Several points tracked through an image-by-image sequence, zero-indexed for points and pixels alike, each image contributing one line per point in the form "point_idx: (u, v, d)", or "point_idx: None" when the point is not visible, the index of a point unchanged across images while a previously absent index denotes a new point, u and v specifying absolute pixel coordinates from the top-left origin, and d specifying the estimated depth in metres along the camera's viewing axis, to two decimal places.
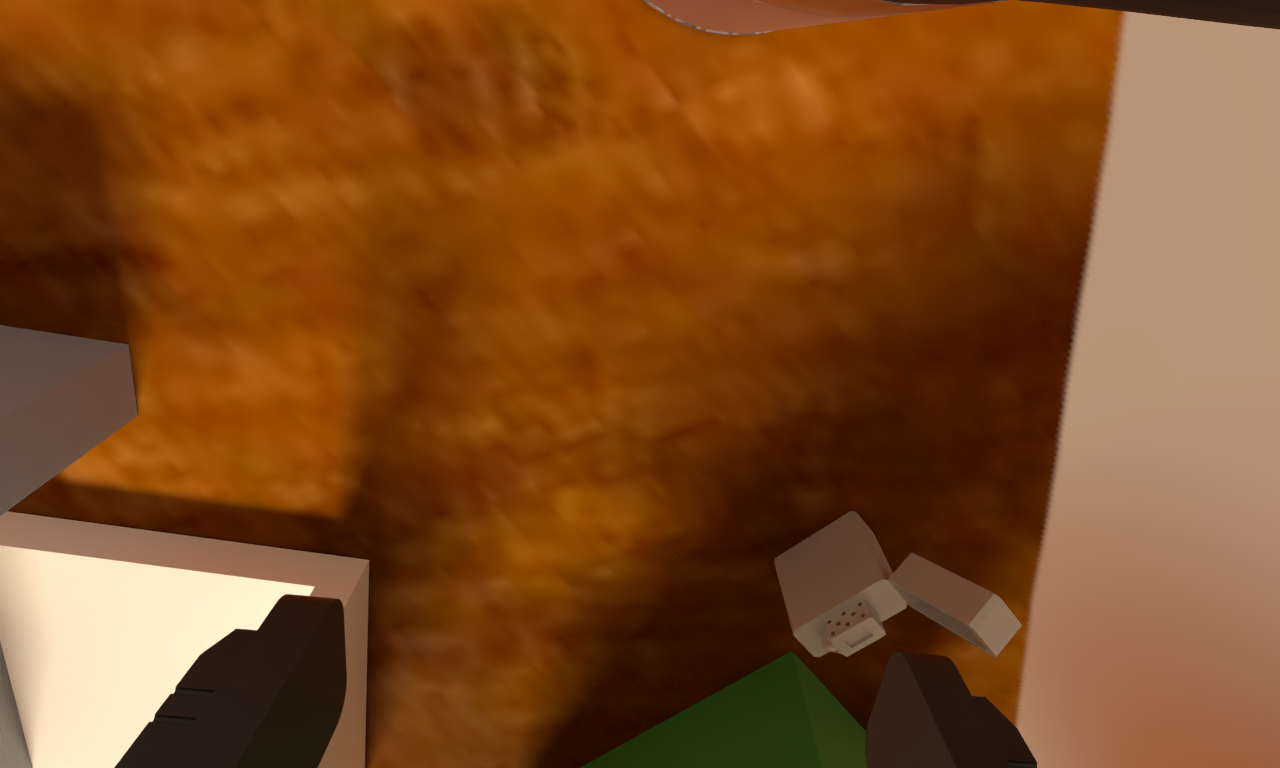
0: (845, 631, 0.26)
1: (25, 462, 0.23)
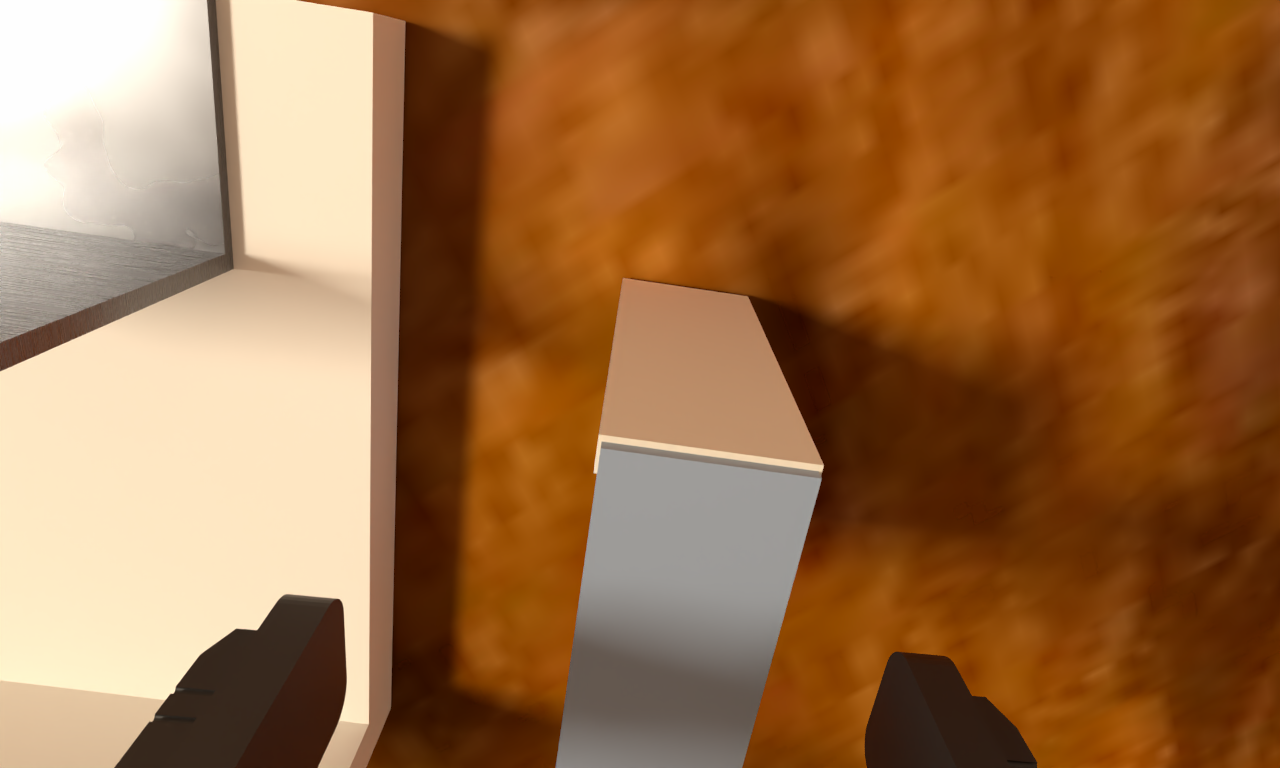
0: None
1: None
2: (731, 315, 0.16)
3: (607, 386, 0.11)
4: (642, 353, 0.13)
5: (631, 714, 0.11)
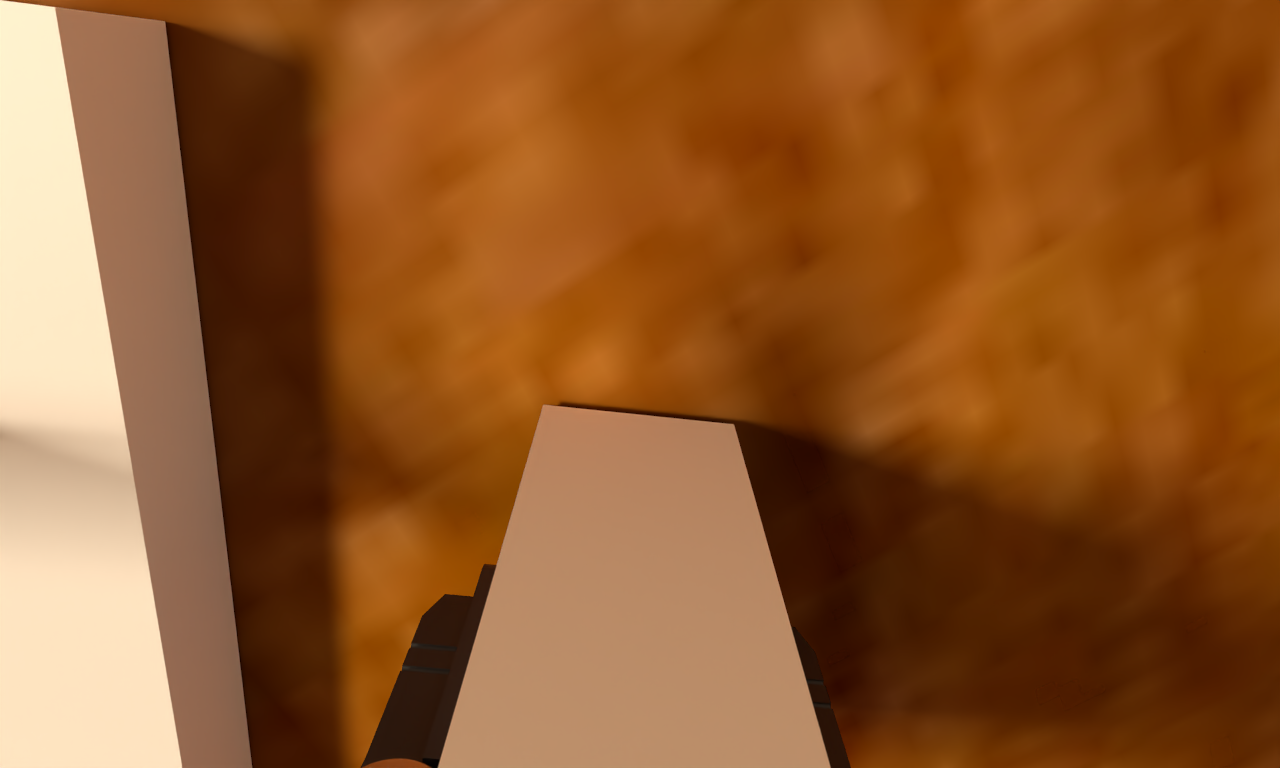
0: None
1: None
2: (707, 479, 0.10)
3: None
4: (536, 633, 0.07)
5: None
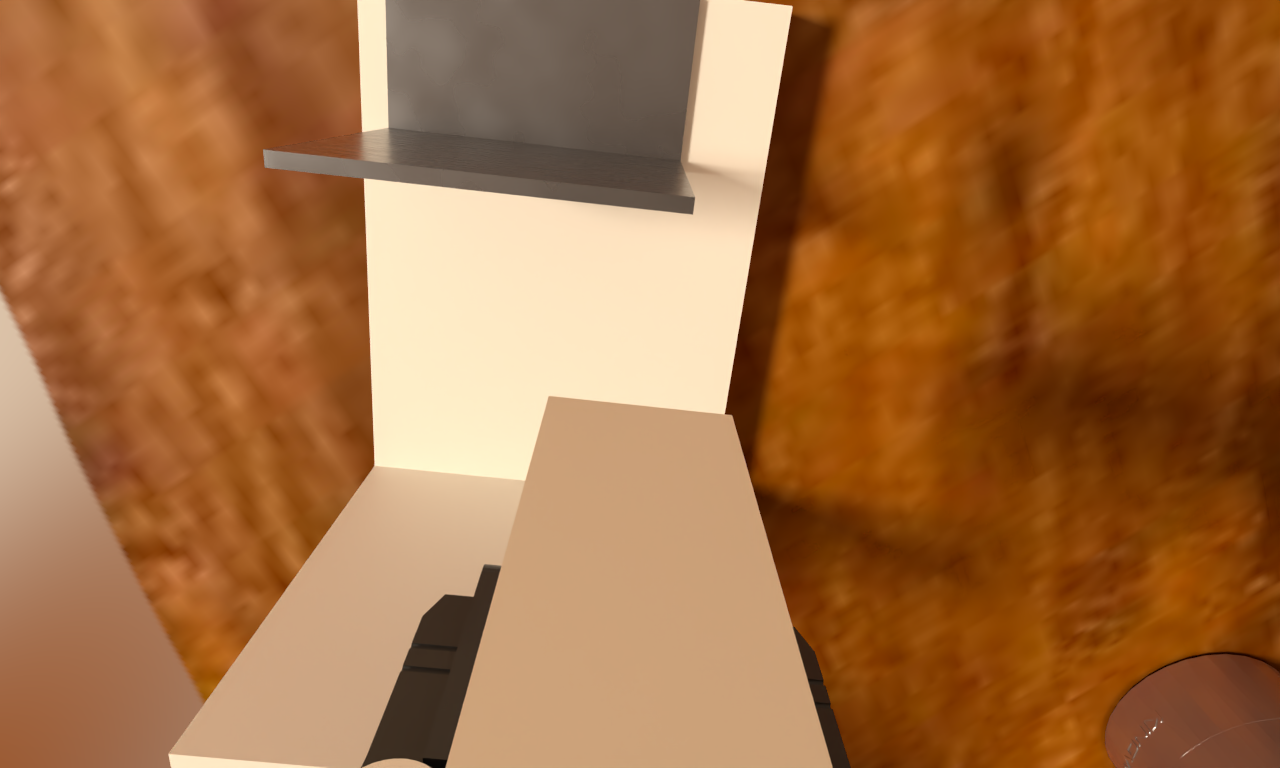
0: None
1: None
2: (706, 466, 0.11)
3: (454, 743, 0.06)
4: (546, 604, 0.07)
5: None
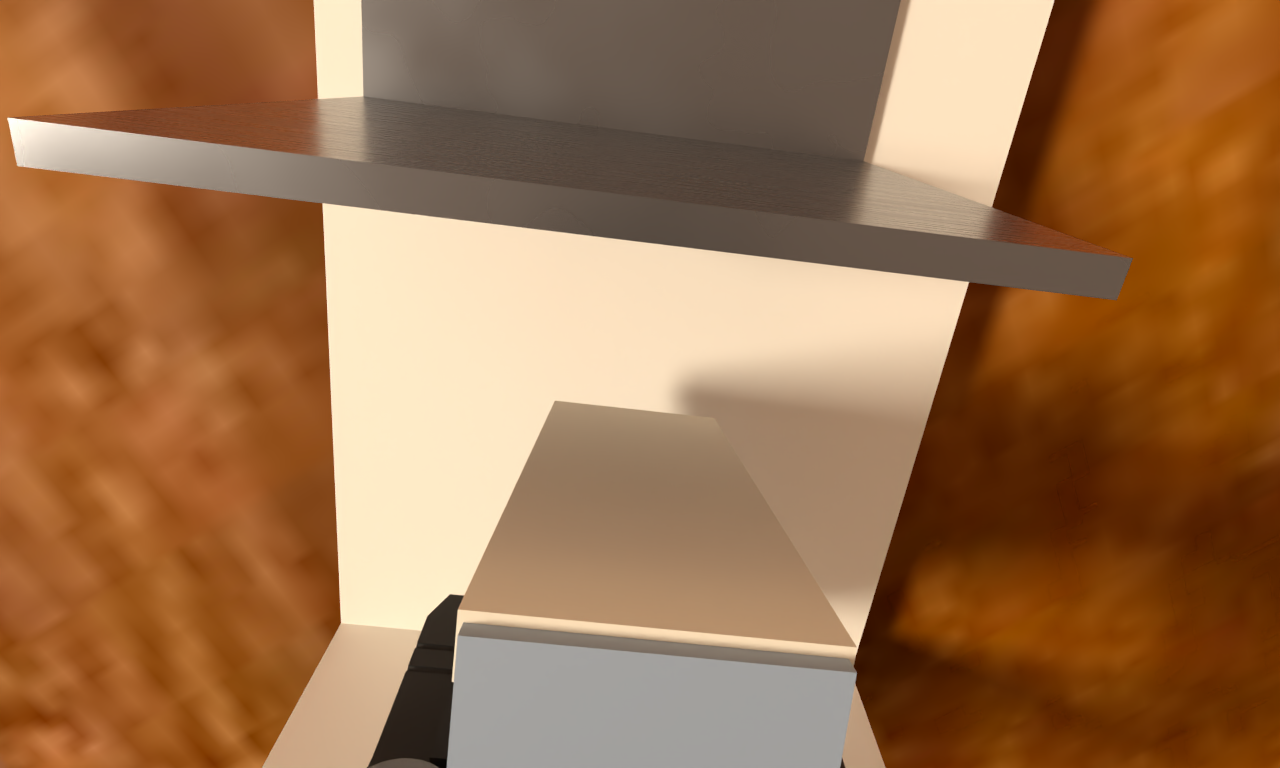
0: None
1: None
2: (693, 437, 0.12)
3: (496, 529, 0.07)
4: (563, 483, 0.09)
5: None
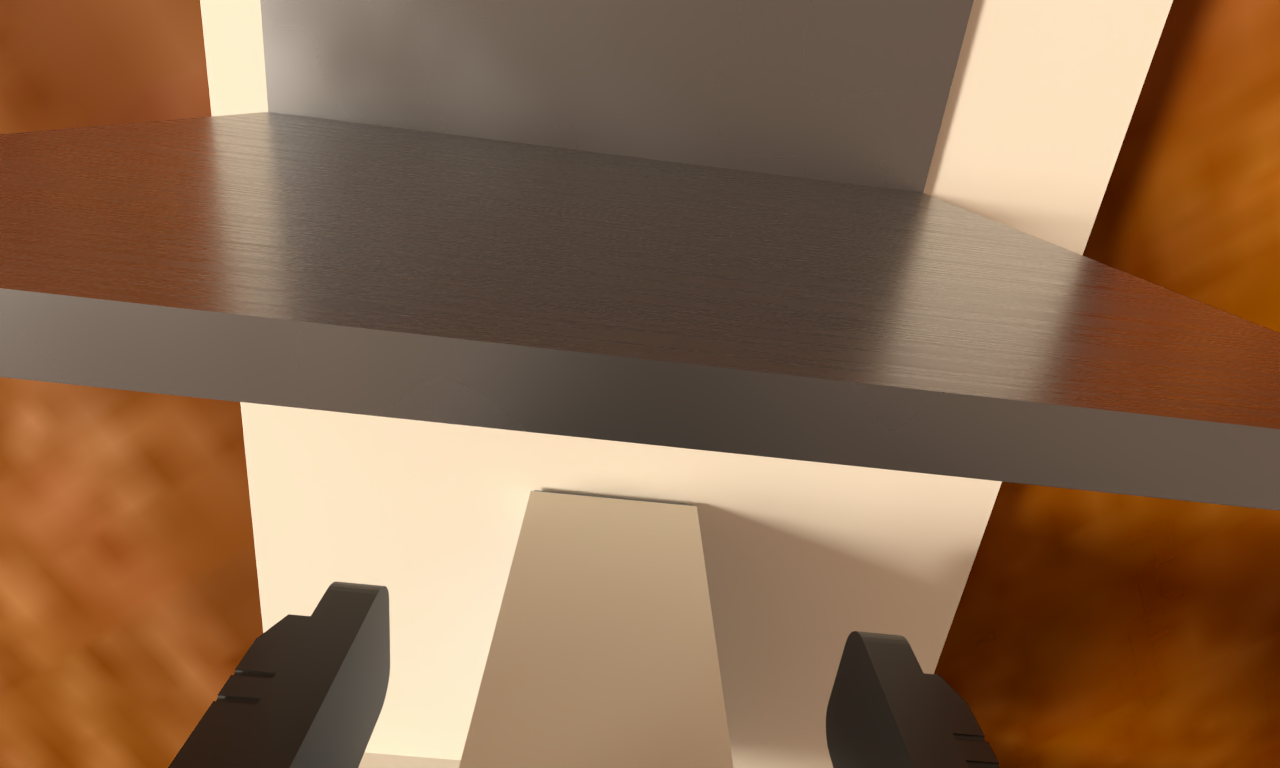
0: None
1: None
2: (668, 566, 0.12)
3: None
4: (518, 720, 0.09)
5: None
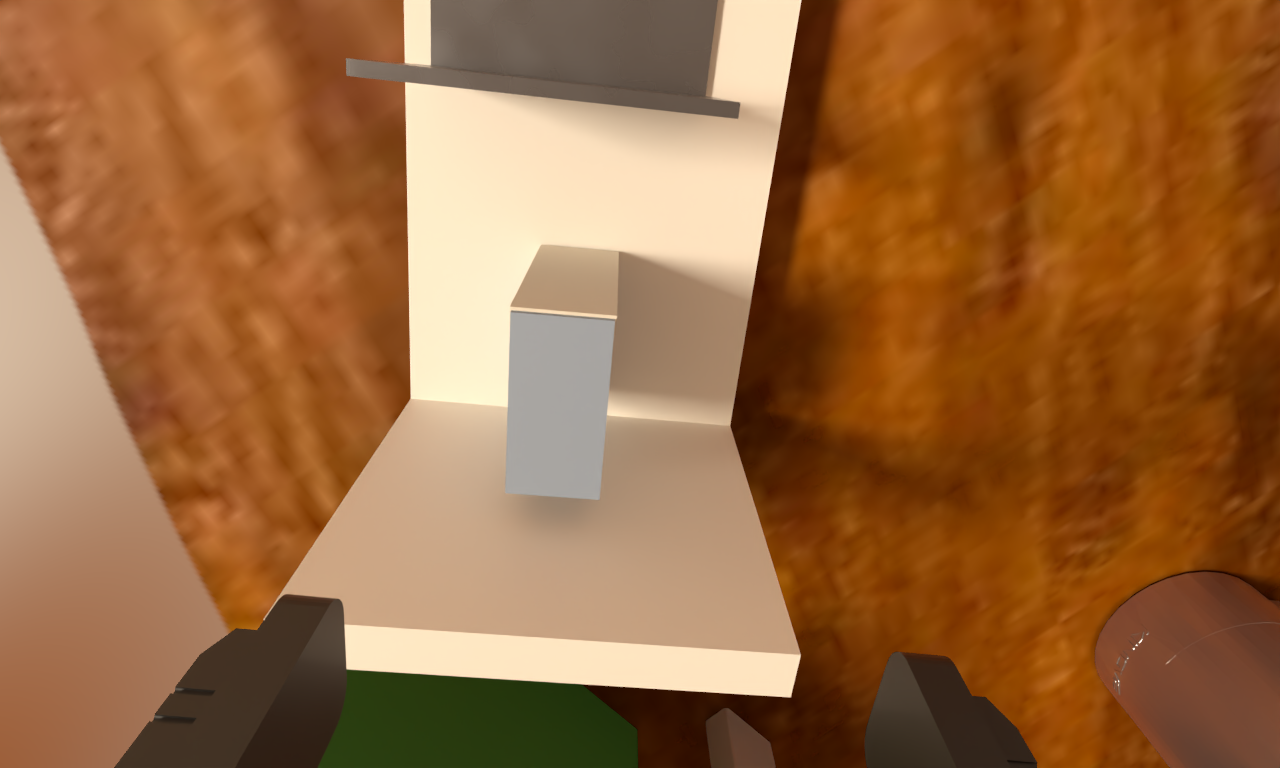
0: None
1: None
2: (602, 261, 0.27)
3: (518, 291, 0.23)
4: (541, 278, 0.24)
5: (540, 456, 0.23)
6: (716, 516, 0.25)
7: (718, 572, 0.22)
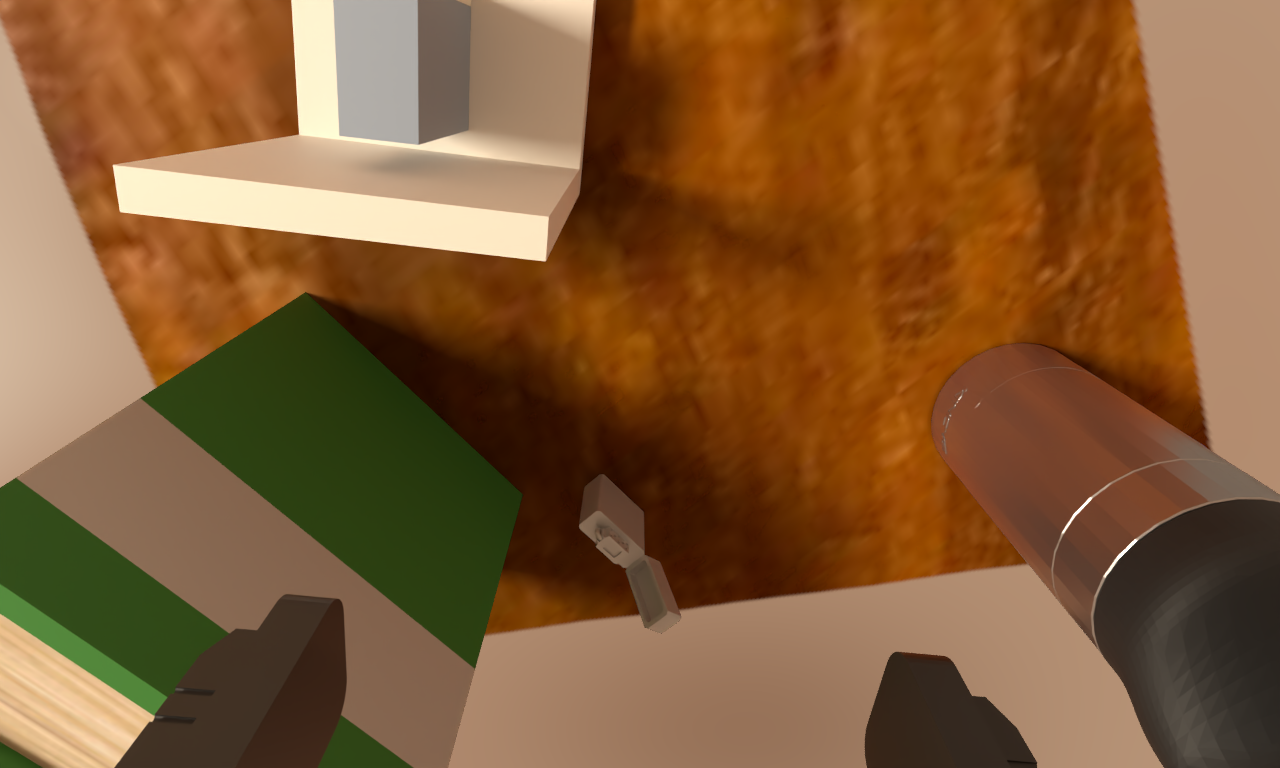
0: (616, 542, 0.42)
1: None
2: None
3: None
4: None
5: (366, 99, 0.27)
6: (529, 185, 0.30)
7: (509, 195, 0.27)
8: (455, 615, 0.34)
